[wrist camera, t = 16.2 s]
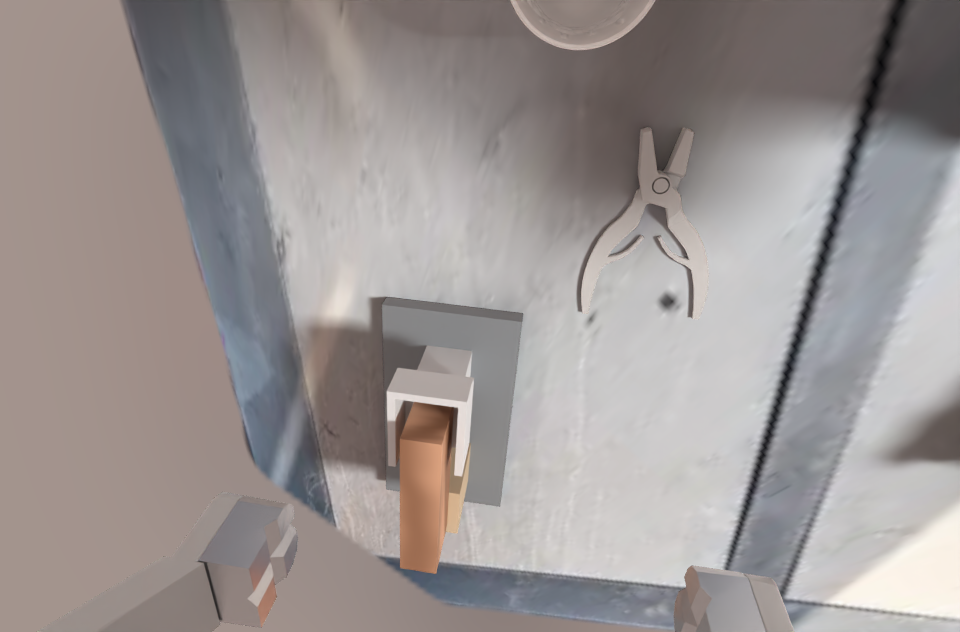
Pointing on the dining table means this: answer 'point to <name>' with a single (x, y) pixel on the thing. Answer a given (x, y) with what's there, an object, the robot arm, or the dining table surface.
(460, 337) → the rail stand
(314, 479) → the dining table surface
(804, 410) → the dining table surface
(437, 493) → the rail
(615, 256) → the pliers
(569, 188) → the dining table surface
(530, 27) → the white cup
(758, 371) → the dining table surface
